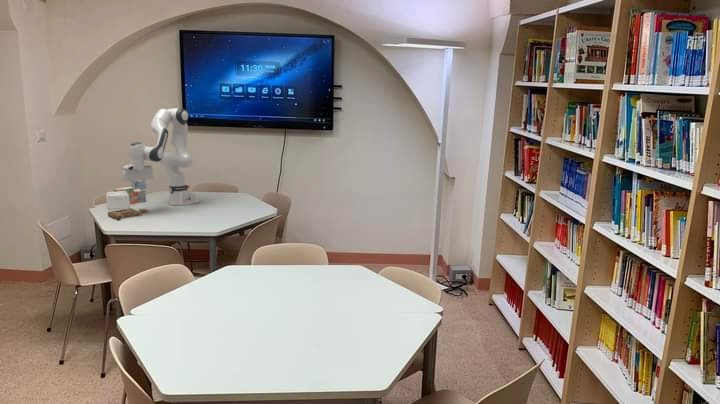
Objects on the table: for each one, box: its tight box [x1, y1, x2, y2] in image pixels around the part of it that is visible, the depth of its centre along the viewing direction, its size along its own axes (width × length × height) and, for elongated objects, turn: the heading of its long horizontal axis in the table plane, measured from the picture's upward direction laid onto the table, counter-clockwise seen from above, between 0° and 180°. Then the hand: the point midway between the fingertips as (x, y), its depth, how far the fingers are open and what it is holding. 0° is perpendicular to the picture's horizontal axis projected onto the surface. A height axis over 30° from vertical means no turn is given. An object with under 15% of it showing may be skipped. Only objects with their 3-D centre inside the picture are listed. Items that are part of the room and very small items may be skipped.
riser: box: [139, 208, 149, 214], centre depth 358 cm, size 4×5×2 cm
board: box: [107, 207, 142, 221], centre depth 348 cm, size 16×16×3 cm
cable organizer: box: [105, 191, 131, 211], centre depth 368 cm, size 15×11×12 cm
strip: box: [130, 180, 147, 191], centre depth 352 cm, size 4×14×5 cm, turn 47°
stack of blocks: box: [113, 186, 147, 205], centre depth 386 cm, size 21×6×12 cm, turn 142°
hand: (138, 186), depth 352 cm, fingers closed on strip, 4 cm apart
